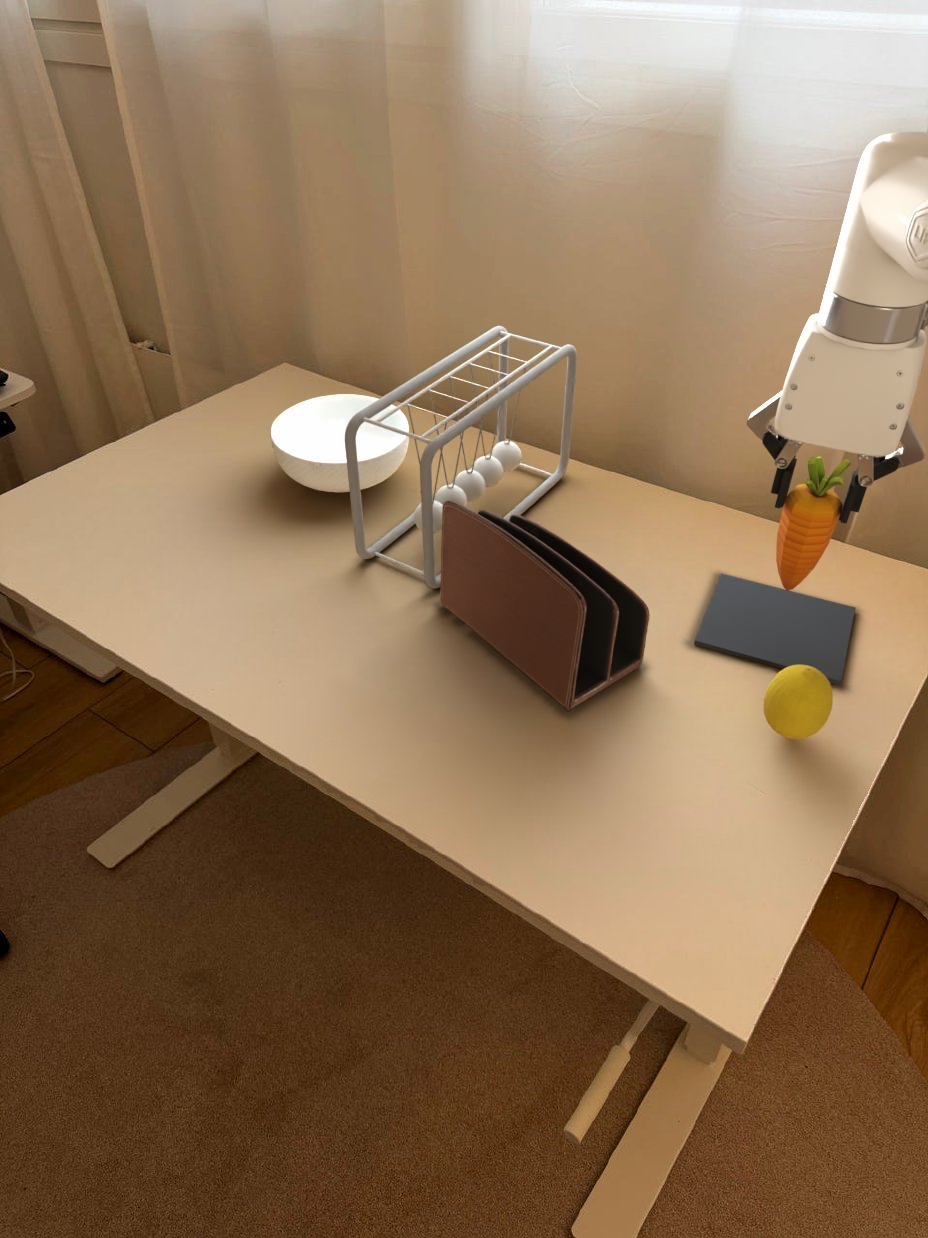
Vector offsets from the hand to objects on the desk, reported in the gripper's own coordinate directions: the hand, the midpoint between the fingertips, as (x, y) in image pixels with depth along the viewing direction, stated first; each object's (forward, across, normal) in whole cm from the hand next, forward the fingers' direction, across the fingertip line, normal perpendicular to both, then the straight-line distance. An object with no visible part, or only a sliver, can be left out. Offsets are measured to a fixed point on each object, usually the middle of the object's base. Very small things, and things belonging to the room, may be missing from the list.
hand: (812, 506), depth 82 cm
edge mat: (+15, 0, 0) cm, 15 cm away
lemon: (+15, -3, +14) cm, 21 cm away
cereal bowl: (+15, +55, -7) cm, 57 cm away
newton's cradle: (+15, +37, -5) cm, 40 cm away
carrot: (+10, 0, 0) cm, 10 cm away
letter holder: (+15, +22, +11) cm, 29 cm away
